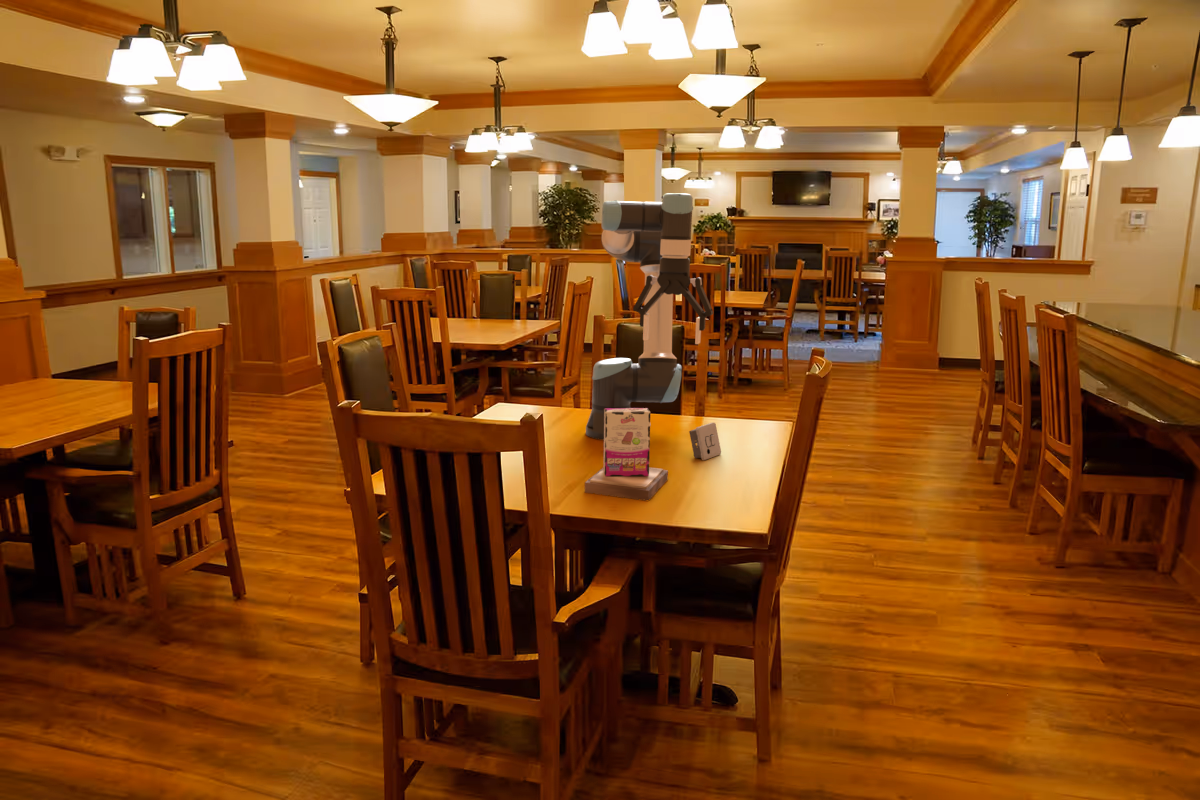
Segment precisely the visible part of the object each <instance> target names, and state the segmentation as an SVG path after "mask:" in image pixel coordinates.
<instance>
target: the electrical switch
mask: <svg viewBox="0 0 1200 800" xmlns="http://www.w3.org/2000/svg"><path fill="white" fill-rule="evenodd" d="M688 434H689V437H690V442H691V448H692V453H693V457H695V458H694V459H697V458H699V459H701V460H702V461H707V460H709V459H711V458H714V457H717V456H719V455H721V454H722V448H721V445H720V439H719V434H718V428H717V425H716V422H710V423H706V424H704V425H703V424H702V425H701V426H697V427H695V428H694V429H691V430H689V431H688Z"/></svg>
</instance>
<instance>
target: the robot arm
mask: <svg viewBox="0 0 1200 800" xmlns="http://www.w3.org/2000/svg"><path fill="white" fill-rule="evenodd" d="M693 205H694V204H693V196H692V195H691V194H690V193H678V192H677V193H673V192H672V193H671V192H670V193H669V192H667V193H664V194H663V196H662V201H626V200H605V201H604V202H602V204H601V229H602V233H601V244H602V247H603V248H604V249H603V250H604V251H606V252H607V253H608V254H609V255H610V256H611V257H613V258H616V259H617V260H619V261H622V262H628V263H639V269H640V270H641V272H642V273H644V286H643V288H642V291H641V292H640V295H639V296H638V298H637V300H636V302H635V304H634V306H633V307H632V308H633V309H632V310H633V312H636V313H639V327H641V328H642V327H643V329H642V330H643V331H642V333H643V334H642V340H643V351H642V352H643V353H641V355H639V356H638V363H633V361H632V359H631V358H628V357H614V358H607V359H602V360H599V361H597V362H595V364H594V366H593V370H592V377H591V379H592V394H591V395H592V398H591V399H592V400H591V403H592V405H591V411H590V414H589V417H588V420H587V423H586V426H585V436H587V437H589V438H591V437H592V438H591V439H595V438H596V439H595V440H602V441H604V409H605V408H631V403H632V402H634V403H660V404H662V403H673V402H674V401H676V399H677V398H678V395H679V391H680V386H681V382H682V369H683V367H682V365H681V364H680V363H677V360H678V358H677V357H676V356H675V355H674V354H673V310H674V309H673V307H674V305H673V304H674V302H673V301H674V296H680V295H682V296H683V297H684V298H685V299H686V301H687V302H688V303H689V304H690V306H691V308H693V310H694V312H695V313H696V314H697V315H698V317H696V318H695V319H696V320H695V342H694V345H699V344H701V338H702V332H704V331H705V329H706V319H707V317H711V316H712V315H714V310H713V309H712V306H711V303H710V301H709V299H708V296H707V294H706V292H705V290H704V287H703V278H702V277H700V276H699V277H696V278H695V277H694V278H691V276H690V273H691V269H690V268H691V259H690V258H689V256H691V247H692V222H693V220H692V219H693V211H694V206H693ZM691 284H692V286H693V287H694V288H695V290H696V292H697V294H698V296H699V299H700V303H701V304H702V306H701V305H700V303H699V302H698V301H697V300H696V298H695V297H694V296H693V295H692V292H691V290H689V288H688V287H689V286H690V285H691ZM643 304H644V305H643ZM642 306H643V307H642ZM702 307H703V308H704V309H703V308H702Z"/></svg>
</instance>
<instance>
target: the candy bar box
mask: <svg viewBox="0 0 1200 800" xmlns="http://www.w3.org/2000/svg"><path fill="white" fill-rule="evenodd" d="M650 423H651V411H650V410H649V408H648V407H645V408H644V407H630V408H605V409H604V440H603V467H604V474H605V476H606V477H608V476H610V477H615V476H649V467H650V453H651V452H650V451H651V450H650V446H651V444H650V443H651V441H650V440H651V426H650Z"/></svg>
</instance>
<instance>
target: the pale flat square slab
mask: <svg viewBox="0 0 1200 800" xmlns="http://www.w3.org/2000/svg"><path fill="white" fill-rule="evenodd" d="M668 475H669V470H668V469H667V470H666V469H664V468H658V467H650V466H649V476H615V477H610V476H608V477H606V476H605V474H604V466H603V467H602V468H601V469H599V470H598V471H597V472H596V473H594V475H592V476H591V477H590V478H588V479H587V480H586V481H585V482H584V493H586V494H593V493H595V494H594V495H601V494H602V495H603V496H608V495H610V497H616V496H617V497H616V498H624V497H625V498H626V499H631V498H632V499H633V500H639V499H640V501H646V500H649V499H652V497H653V496H654V495H656V493H657V492H658V491H659V490H660V489H661V488H662V487H663V485H665V483H666V482H667V481H668V480H669V479H668V477H669V476H668ZM659 488H660V489H659ZM658 489H659V490H658ZM602 495H601V496H602ZM625 498H624V499H625ZM649 501H650V500H649Z"/></svg>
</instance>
